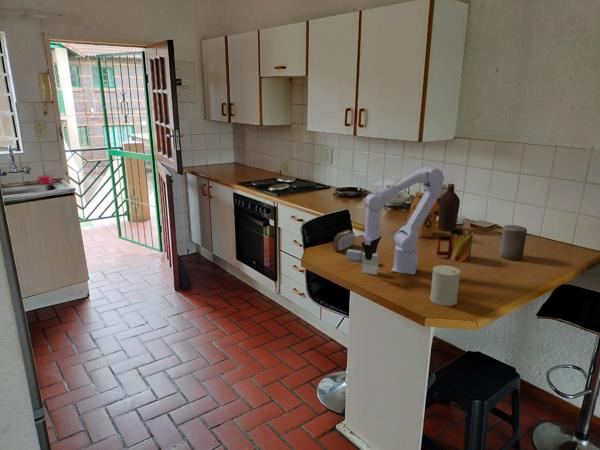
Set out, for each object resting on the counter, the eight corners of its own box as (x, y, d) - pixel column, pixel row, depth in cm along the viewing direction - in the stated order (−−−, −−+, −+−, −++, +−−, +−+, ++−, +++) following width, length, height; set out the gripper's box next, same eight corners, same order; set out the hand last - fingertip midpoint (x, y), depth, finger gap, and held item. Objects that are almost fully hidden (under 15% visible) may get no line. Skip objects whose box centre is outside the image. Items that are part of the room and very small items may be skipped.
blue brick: (361, 259, 193) (361, 250, 192) (359, 261, 191) (359, 253, 189) (348, 257, 195) (348, 249, 194) (346, 259, 193) (346, 251, 192)
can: (450, 308, 148) (454, 275, 145) (425, 300, 154) (428, 268, 151) (461, 299, 155) (464, 268, 152) (436, 292, 161) (439, 261, 158)
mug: (435, 257, 196) (437, 231, 193) (458, 252, 202) (461, 228, 199) (450, 264, 188) (453, 237, 185) (474, 259, 194) (477, 234, 190)
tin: (349, 244, 213) (350, 227, 211) (355, 245, 211) (356, 228, 209) (332, 252, 202) (332, 234, 199) (337, 253, 200) (338, 236, 198)
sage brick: (377, 263, 178) (378, 253, 177) (376, 265, 175) (376, 256, 174) (363, 261, 180) (363, 252, 179) (361, 263, 177) (362, 254, 176)
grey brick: (377, 272, 179) (378, 263, 178) (376, 274, 176) (376, 265, 175) (363, 270, 181) (364, 261, 180) (361, 272, 178) (362, 263, 177)
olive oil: (455, 233, 232) (460, 186, 225) (434, 230, 236) (439, 184, 229) (458, 227, 241) (463, 183, 234) (438, 225, 245) (442, 181, 238)
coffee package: (419, 239, 221) (422, 196, 215) (406, 232, 233) (409, 191, 226) (435, 237, 224) (440, 195, 218) (422, 230, 236) (425, 190, 229)
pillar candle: (527, 260, 194) (532, 227, 190) (507, 261, 192) (512, 228, 188) (513, 252, 203) (518, 221, 199) (494, 253, 201) (498, 222, 197)
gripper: (366, 218, 181) (365, 249, 185) (358, 228, 168) (356, 261, 172) (383, 220, 178) (381, 251, 182) (376, 230, 165) (374, 263, 169)
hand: (370, 256), depth 177 cm, fingers open, 7 cm apart
